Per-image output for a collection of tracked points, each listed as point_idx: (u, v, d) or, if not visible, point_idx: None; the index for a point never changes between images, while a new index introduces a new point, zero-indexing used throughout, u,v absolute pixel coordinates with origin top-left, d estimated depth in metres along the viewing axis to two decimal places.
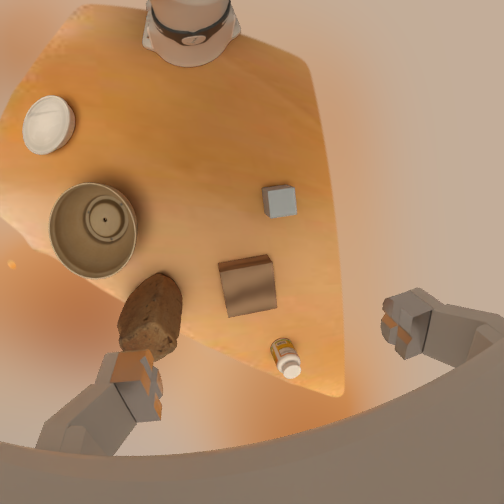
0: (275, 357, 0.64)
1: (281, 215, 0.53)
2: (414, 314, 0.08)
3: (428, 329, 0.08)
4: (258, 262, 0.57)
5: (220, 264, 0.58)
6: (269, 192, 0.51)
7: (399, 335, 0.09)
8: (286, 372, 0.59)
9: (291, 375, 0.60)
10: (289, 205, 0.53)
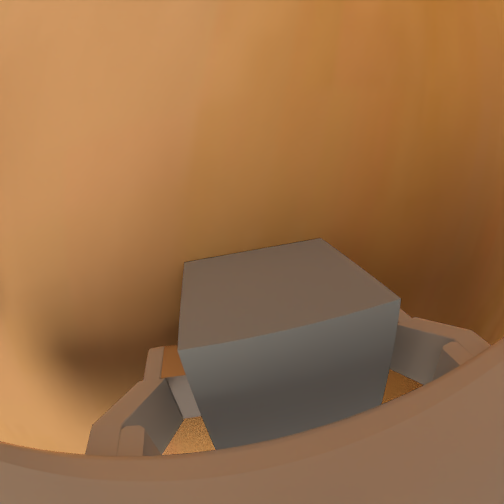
0: None
1: (210, 412, 0.06)
2: None
3: None
4: None
5: None
6: (389, 313, 0.06)
7: None
8: None
9: None
10: (283, 434, 0.07)
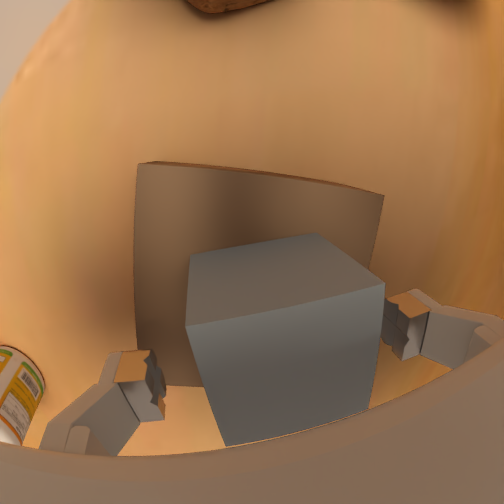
0: None
1: (213, 387, 0.07)
2: (411, 315, 0.08)
3: (425, 330, 0.08)
4: None
5: None
6: (375, 296, 0.07)
7: (396, 336, 0.09)
8: None
9: None
10: (280, 412, 0.08)
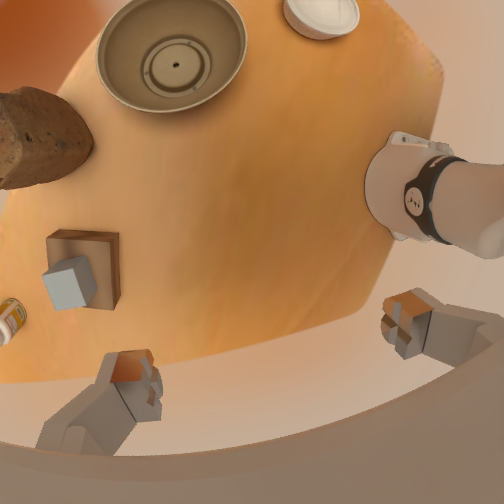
0: (2, 310, 0.34)
1: (48, 290, 0.30)
2: (414, 314, 0.08)
3: (428, 329, 0.08)
4: (114, 290, 0.38)
5: (117, 237, 0.39)
6: (71, 271, 0.30)
7: (399, 335, 0.09)
8: None
9: None
10: (63, 299, 0.31)
